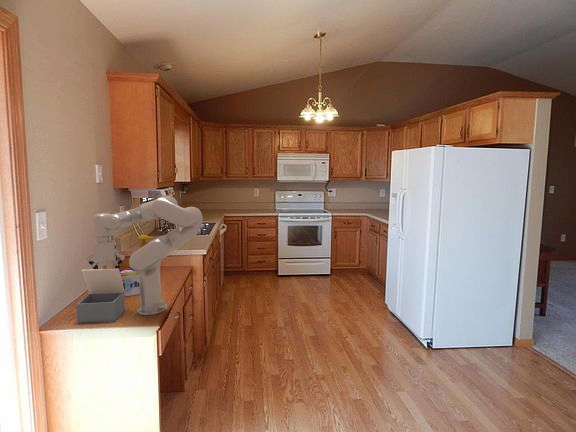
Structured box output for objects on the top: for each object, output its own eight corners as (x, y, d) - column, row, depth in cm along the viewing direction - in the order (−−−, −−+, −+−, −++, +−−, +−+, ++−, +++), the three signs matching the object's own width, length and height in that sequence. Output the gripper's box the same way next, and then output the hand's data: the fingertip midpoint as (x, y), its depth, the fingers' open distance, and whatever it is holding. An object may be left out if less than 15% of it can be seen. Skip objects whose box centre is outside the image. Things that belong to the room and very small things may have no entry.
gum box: (148, 288, 215) (147, 265, 213) (151, 292, 208) (149, 268, 207) (102, 296, 203) (100, 272, 201) (104, 300, 196) (102, 275, 194)
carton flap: (88, 293, 179) (92, 286, 184) (124, 292, 181) (127, 284, 186) (81, 270, 172) (85, 262, 176) (118, 269, 173) (121, 261, 178)
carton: (90, 311, 180) (89, 293, 179) (125, 310, 182) (123, 292, 181) (77, 323, 166) (76, 304, 165) (114, 321, 168) (113, 302, 167)
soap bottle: (151, 284, 223) (149, 236, 219) (134, 284, 223) (131, 236, 220) (159, 278, 236) (157, 233, 232) (143, 278, 236) (141, 233, 232)
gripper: (125, 237, 183) (127, 271, 185) (88, 238, 181) (91, 272, 183) (120, 240, 176) (122, 275, 178) (82, 241, 174) (84, 276, 176)
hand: (107, 273), depth 180 cm, fingers open, 9 cm apart
